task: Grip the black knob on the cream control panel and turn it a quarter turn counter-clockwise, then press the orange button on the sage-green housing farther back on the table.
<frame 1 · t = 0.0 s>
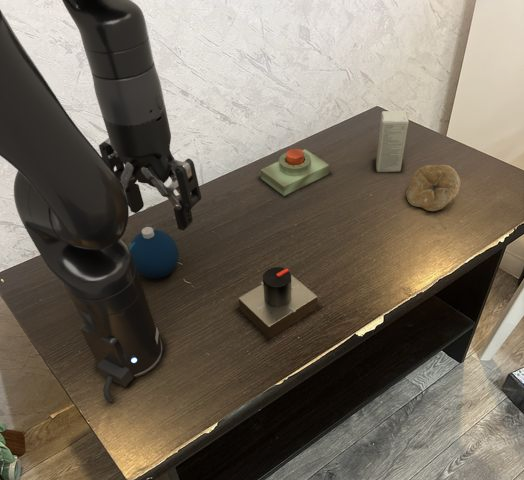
hand: (161, 218, 72), 17 cm above the table, tool pointing down, fingers open, 8 cm apart
box: (387, 167, 107), on the table
button: (294, 157, 103), point 4 cm above the table, slide at 0.1 cm
button block: (294, 176, 107), on the table
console: (278, 309, 83), on the table
christmas ornament: (159, 272, 91), on the table
fossil: (429, 203, 99), on the table
dial: (277, 286, 79), point 5 cm above the table, hinge at 0.0°
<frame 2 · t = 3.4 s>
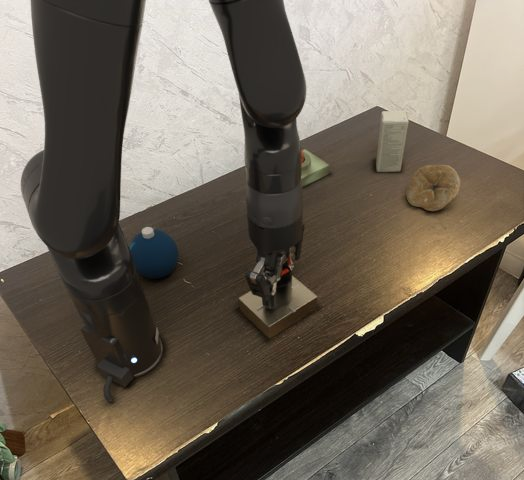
hand: (277, 295, 81), 3 cm above the table, tool pointing down, fingers closed on dial, 4 cm apart
dial: (277, 286, 79), point 5 cm above the table, hinge at -0.3°, touching gripper
everything else where it was.
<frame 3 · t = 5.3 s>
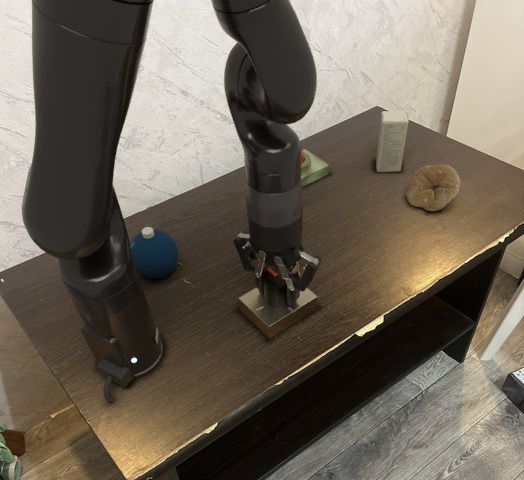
hand: (278, 295, 81), 3 cm above the table, tool pointing down, fingers closed on dial, 4 cm apart
dial: (277, 286, 79), point 5 cm above the table, hinge at 92.5°, touching gripper
everything else where it was.
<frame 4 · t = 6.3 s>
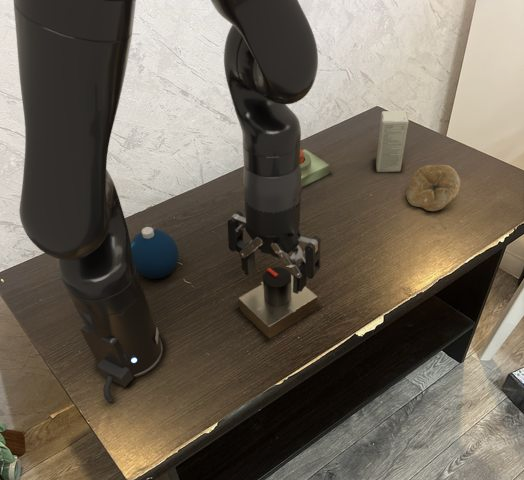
hand: (273, 281, 79), 6 cm above the table, tool pointing down, fingers open, 8 cm apart
dial: (277, 286, 79), point 5 cm above the table, hinge at 92.6°
everything else where it was.
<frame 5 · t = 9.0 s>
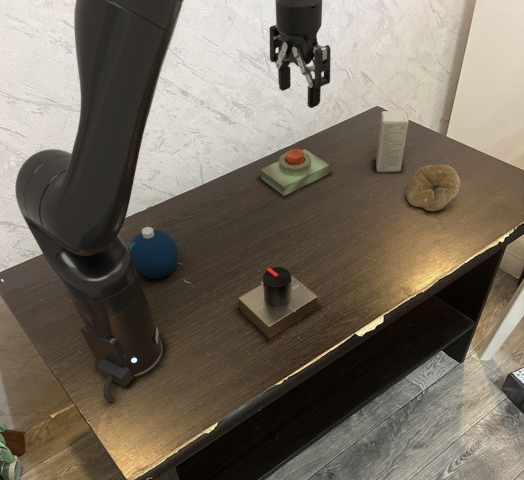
hand: (298, 97, 93), 17 cm above the table, tool pointing down, fingers open, 8 cm apart
nothing on the table moved.
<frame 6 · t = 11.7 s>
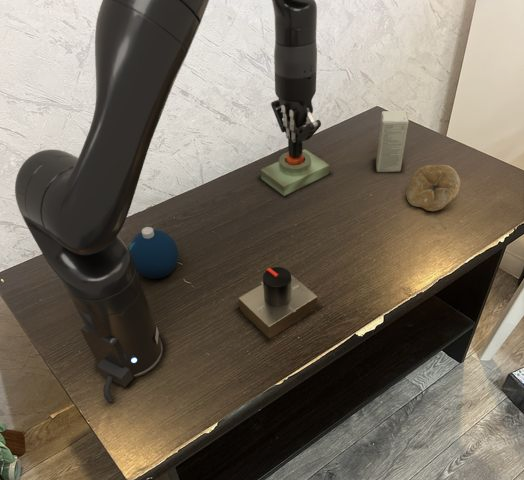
hand: (295, 155, 103), 5 cm above the table, tool pointing down, fingers closed
button: (294, 159, 103), point 4 cm above the table, slide at -0.5 cm, touching gripper
everything else where it was.
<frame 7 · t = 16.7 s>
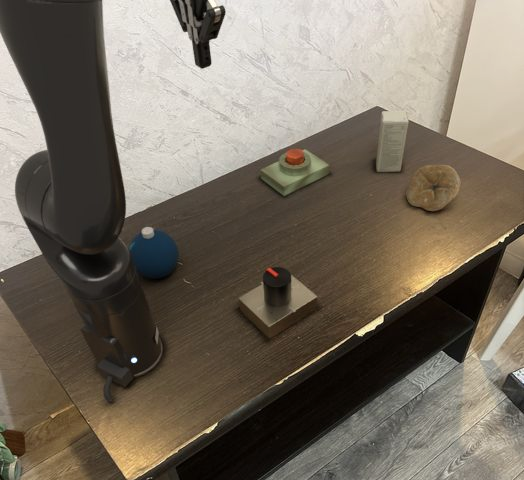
hand: (203, 65, 80), 27 cm above the table, tool pointing down, fingers closed
button: (294, 157, 103), point 4 cm above the table, slide at 0.1 cm
everything else where it was.
at the end: dial at +93° (first picture: +0°); button pushed in 1.0 cm at the most during the clip, back to where it started at the end; button slide at 0.1 cm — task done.
